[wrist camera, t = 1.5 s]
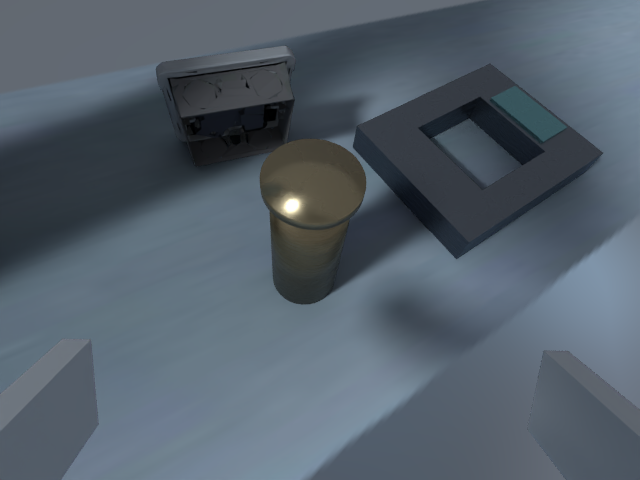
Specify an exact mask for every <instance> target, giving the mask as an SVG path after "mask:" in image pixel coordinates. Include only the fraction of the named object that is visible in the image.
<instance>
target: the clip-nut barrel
mask: <svg viewBox="0 0 640 480" xmlns="http://www.w3.org/2000/svg"><path fill="white" fill-rule="evenodd" d="M260 189H261V195H262V198H263V201H264V203H265V205H266V206H267V208H268V209H269V210H270V228H271V249H272V269H273V281H274V285H275V287H276V289H277V291H278V292H279V293H280V295H282V296H283V297H284V298H285V299H287V300H288V301H290V302H293V303H296V304H312V303H316V302H318V301H320V300H322V299H323V298H325V297H326V296H327V295H328V294H329V292H330V291H331V289H332V287H333V284H334V280H335V276H336V272H337V268H338V264H339V260H340V256H341V252H342V248H343V244H344V240H345V236H346V232H347V228H348V224H349V220H350V218H351V217H352V216H353V215H354V214H355V213H356V212H357V211H358V209H359V208H360V206H361V204H362V201H363V198H364V194H365V190H366V176H365V172H364V170H363V167H362V166H361V164H360V162H359V161H358V160H357V158H356V157H355V156H354V155H353V154H352V153H350V152H349V151H348V150H346V149H345V148H343V147H342V146H340V145H337V144H335V143H332V142H329V141H325V140H320V139H300V140H295V141H291V142H289V143H286V144H284V145H282V146H280V147H278V148H277V149H275V150H274V151H273V152H272V153H271V154H270V155H269V156H268V157H267V158H266V160H265V162H264V163H263V166H262V168H261V172H260Z"/></svg>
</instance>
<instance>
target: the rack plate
mask: <svg viewBox="0 0 640 480" xmlns="http://www.w3.org/2000/svg"><path fill="white" fill-rule="evenodd" d="M468 118H470V119H471V120H472V121H474V122H475V123H476V124H477V125H478V126H479V127H480V128H482V129H483V130H484V131H485V132H486V133H487V134H488V135H489V136H491V137H492V138H493V139H494V140H495V141H496V142H497V143H499V144H500V145H501V146H502V147H503V148H504V149H505V150H506V151H508V152H509V153H510V154H511V155H512V156H513V157H514V158H516V159H517V160H518V161H519V162H520V163H521V164H522V165H523V166H521V167H519V168H518V169H516V170H514V171H513V172H511V173H509V174H508V175H506V176H505V177H503V178H501V179H500V180H498V181H496V182H495V183H493V184H492V185H490V186H488V187H487V188H485V189H483V190H482V189H481V188H480V187H479V186H478V185H477V184H476V183H475V182H474V181H473V180H472V179H471V178H470V177H468V176H467V175H466V174H465V173H464V172H463V171H462V170H461V169H460V168H459V167H458V166H457V165H456V164H455V163H454V162H453V161H452V160H451V159H450V158H449V157H448V156H447V155H445V154H444V153H443V152H442V151H441V150H440V149H439V148H438V147H437V146H436V145H435V144H434V143H433V142H432V141H431V140H430V138H431V137H433V136H435V135H437V134H439V133H441V132H443V131H445V130H447V129H449V128H451V127H453V126H455V125H456V124H458V123H460V122H462V121H464V120H466V119H468ZM353 148H354V149H355V150H356V151H357V152H358V153H359V154H360V156H361V157H362V158H363V159H364V160H365V161H366V162H367V163H368V164H369V165H370V166H371V167H372V169H373V170H374V171H375V172H376V173H377V174H378V175H379V176H380V177H381V178H382V179H383V180H384V181H385V183H386V184H387V185H388V186H389V187H390V188H391V189H392V190H393V191H394V192H395V193H396V194H397V196H398V197H399V198H400V199H401V200H402V201H403V202H404V203H405V204H406V205H407V206H408V207H409V208H410V210H411V211H412V212H413V213H414V214H415V215H416V216H417V217H418V218H419V219H420V220H421V221H422V222H423V224H424V225H425V226H426V227H427V228H428V229H429V230H430V231H431V232H432V233H433V234H434V235H435V237H436V238H437V239H438V240H439V241H440V242H441V243H442V244H443V245H444V246H445V247H446V248H447V249H448V251H449V252H450V253H451V254H452V255H453V256H454V257H455V258H456V259H457V258H459V257H460V256H462V255H463V254H465V253H466V252H468V251H469V250H471V249H472V248H474V247H475V246H477V245H478V244H479V243H481V242H482V241H484V240H485V239H487V238H488V237H490V236H491V235H493V234H494V233H496V232H497V231H499V230H500V229H502V228H503V227H505V226H506V225H508V224H509V223H511V222H512V221H514V220H515V219H517V218H518V217H519V216H521V215H522V214H524V213H525V212H527V211H528V210H530V209H531V208H533V207H534V206H536V205H537V204H539V203H540V202H542V201H543V200H545V199H546V198H548V197H549V196H551V195H552V194H554V193H555V192H557V191H558V190H559V189H561V188H562V187H564V186H565V185H567V184H568V183H570V182H571V181H573V180H574V179H576V178H577V177H579V176H580V175H582V174H583V173H585V172H586V171H587V170H588V169H589V168H590V166H591V165H592V164H593V163H594V162H595V161H596V160H597V159H598V158H599V157H600V156H601V155H602V154H603V152H601V151H600V150H599V149H598V148H596V147H595V146H594V145H593V144H591V143H590V142H589V141H587V140H586V139H585V138H584V137H582V136H581V135H580V134H579V133H577V132H576V131H575V130H574V129H572V128H571V127H570V126H568V125H567V124H566V123H565V122H563V121H562V120H561V119H560V118H558V117H557V116H556V115H555V114H553V113H552V112H551V111H550V110H548V109H547V108H546V107H544V106H543V105H542V104H541V103H539V102H538V101H537V100H536V99H534V98H533V97H532V96H531V95H529V94H528V93H527V92H526V91H524V90H523V89H522V88H520V87H519V86H518V85H517V84H515V83H514V82H513V81H512V80H510V79H509V78H508V77H507V76H505V75H504V74H503V73H501V72H500V71H499V70H498V69H496V68H495V67H494V66H493V65H491V64H488V65H486V66H484V67H482V68H480V69H478V70H476V71H473V72H471V73H469V74H467V75H465V76H463V77H461V78H458V79H456V80H454V81H452V82H450V83H448V84H446V85H444V86H441V87H439V88H437V89H435V90H433V91H431V92H429V93H426V94H424V95H422V96H420V97H418V98H416V99H414V100H412V101H409V102H407V103H405V104H403V105H401V106H399V107H397V108H394V109H392V110H390V111H388V112H386V113H384V114H382V115H380V116H377V117H375V118H373V119H371V120H369V121H367V122H365V123H362V124H360V125H358V126H357V129H356V134H355V139H354V144H353Z"/></svg>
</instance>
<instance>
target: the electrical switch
mask: <svg viewBox="0 0 640 480" xmlns="http://www.w3.org/2000/svg"><path fill="white" fill-rule="evenodd" d="M295 62H296V59H295V57H294V54H293V52H292V50H291V49H290V48H289V47H287V46H279V47H272V48H264V49H257V50H249V51H242V52H234V53H227V54H219V55H212V56H204V57H197V58H189V59H181V60H174V61H166V62H162V63H160V64H159V65H158V66H157V67H156V74H157V81H158V85H159V87H160V90H162V91H163V94H164V98H165V101H166V104H167V107H168V110H169V114H170V117H171V120H172V123H173V127H174V130H175V134H176V137H177V138H178V139H179V140H181V141H182V142H185V141H187V145H188V148H189V151H190V154H191V157H192V160H193V159H194V160H193V163H195V165H194V166H201V165H206V164H211V163H217V162H222V161H227V160H232V159H237V158H243V157H248V156H253V155H258V154H263V153H268V152H273V151H274V150H275V149H277V148H278V147H280V146H282V145H283V144H286V143H287V139H288V133H289V128H290V122H291V117H292V112H293V106H294V101H295V99H294V96H293V93H292V90H291V86H290V80H291V74H292V70H293V71H294V68H295ZM271 127H274V128H273V129H272V128H271ZM264 128H265V129H264ZM248 133H249V134H248ZM247 134H248V142H249V145H248V144H247V140H246V135H247ZM230 135H240V137H241V143H239V144H238V145H234V144H232V142H231V139H230V137H229V136H230ZM271 136H272V138H271ZM220 137H222V138H220ZM223 138H224V139H225V141H226V142H227V144H228V148H227V145H226V143H225V141H224V139H223ZM282 141H283V142H282ZM253 148H254V149H253ZM265 148H266V149H265ZM226 149H227V150H226ZM219 157H220V158H219Z"/></svg>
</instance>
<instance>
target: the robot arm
mask: <svg viewBox="0 0 640 480" xmlns="http://www.w3.org/2000/svg"><path fill="white" fill-rule="evenodd" d="M98 424H99V423H98V412H97V400H96V389H95V378H94V367H93V356H92V345H91V339H62V340H61V341H60V342H58V343H57V344H56V345H55V346H54V347H53V348H52V349H51V350H49V351H48V352H47V353H46V354H45V355H44V356H43V357H42V358H40V359H39V360H38V361H37V362H36V363H35V364H34V365H33V366H31V367H30V368H29V369H28V370H27V371H26V372H25V373H24V374H22V375H21V376H20V377H19V378H18V379H17V380H16V381H15V382H13V383H12V384H11V385H10V386H9V387H8V388H7V389H5V390H4V391H3V392H2V393H1V394H0V480H61V479H62V477H63V476H64V474H65V473H66V471H67V470H68V469H69V467H70V466H71V464H72V463H73V461H74V460H75V458H76V457H77V455H78V454H79V452H80V451H81V449H82V448H83V446H84V445H85V443H86V442H87V440H88V439H89V438H90V436H91V435H92V433H93V432H94V430H95V429H96V427H97V426H98ZM528 431H529V432H530V433H531V435H532V436H533V437H534V439H535V440H536V441H537V443H538V444H539V445H540V447H541V448H542V449H543V450H544V452H545V453H546V454H547V456H548V457H549V458H550V460H551V461H552V462H553V463H554V465H555V466H556V467H557V469H558V470H559V471H560V473H561V474H562V475H563V477H564V478H565V479H566V480H640V410H639V409H638V408H637V407H636V406H634V405H633V404H632V403H631V402H630V401H628V400H627V399H626V398H625V397H624V396H622V395H621V394H620V393H619V392H617V391H616V390H615V389H614V388H613V387H611V386H610V385H609V384H608V383H606V382H605V381H604V380H603V379H602V378H600V377H599V376H598V375H597V374H595V373H594V372H593V371H592V370H591V369H589V368H588V367H587V366H586V365H584V364H583V363H582V362H581V361H580V360H578V359H577V358H576V357H574V356H573V355H572V354H571V353H570V352H568V351H543V356H542V361H541V366H540V371H539V376H538V381H537V385H536V390H535V395H534V399H533V404H532V409H531V414H530V419H529V423H528Z"/></svg>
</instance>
